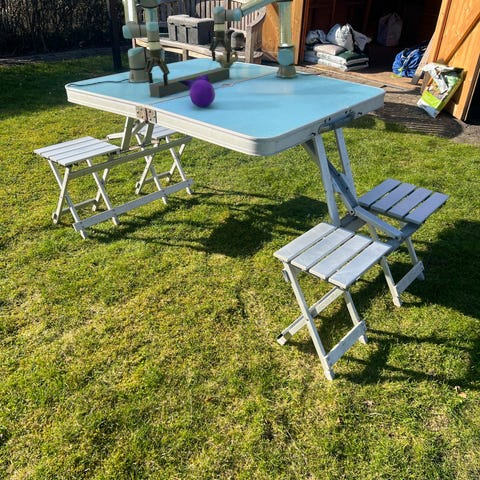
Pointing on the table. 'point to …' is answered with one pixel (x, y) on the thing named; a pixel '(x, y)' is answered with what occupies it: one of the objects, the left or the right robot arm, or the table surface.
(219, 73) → the wide block
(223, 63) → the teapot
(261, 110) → the table surface
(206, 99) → the toy
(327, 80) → the table surface
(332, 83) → the table surface
